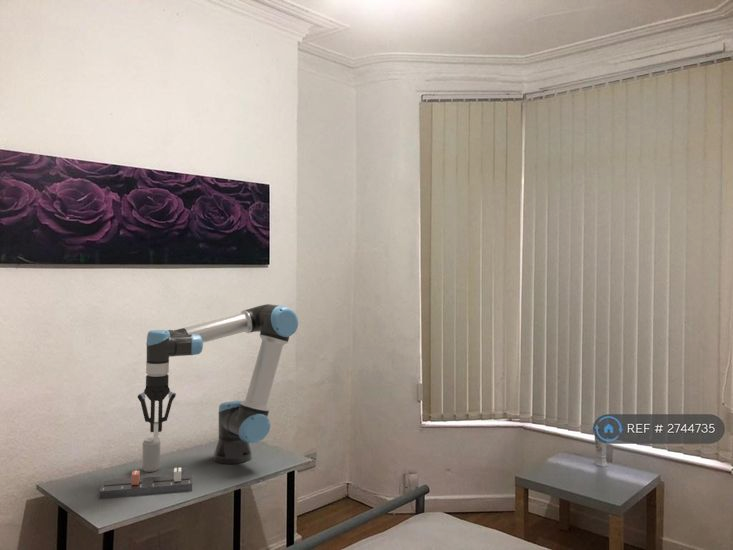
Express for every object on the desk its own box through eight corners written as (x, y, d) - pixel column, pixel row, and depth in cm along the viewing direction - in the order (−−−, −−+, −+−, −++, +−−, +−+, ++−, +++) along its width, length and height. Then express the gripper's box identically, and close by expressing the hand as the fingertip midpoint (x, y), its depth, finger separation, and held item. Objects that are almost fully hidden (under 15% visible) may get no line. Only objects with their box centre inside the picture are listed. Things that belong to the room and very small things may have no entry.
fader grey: (181, 477, 217) (181, 467, 216) (181, 481, 213) (181, 470, 212) (174, 477, 216) (174, 467, 216) (173, 481, 212) (174, 471, 212)
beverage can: (154, 473, 227) (154, 441, 227) (139, 472, 228) (139, 440, 228) (163, 467, 233) (163, 437, 233) (148, 466, 234) (148, 435, 234)
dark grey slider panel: (192, 480, 220) (192, 473, 220) (192, 490, 211) (192, 483, 211) (103, 487, 212) (103, 480, 212) (99, 498, 203) (99, 491, 202)
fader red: (139, 480, 213) (139, 470, 213) (138, 484, 209) (138, 474, 209) (132, 480, 212) (132, 470, 212) (131, 485, 208) (131, 474, 208)
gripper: (177, 372, 217) (175, 437, 218) (138, 372, 214) (137, 438, 214) (176, 376, 210) (174, 443, 210) (136, 376, 206) (135, 445, 207)
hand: (155, 440), depth 212 cm, fingers closed
